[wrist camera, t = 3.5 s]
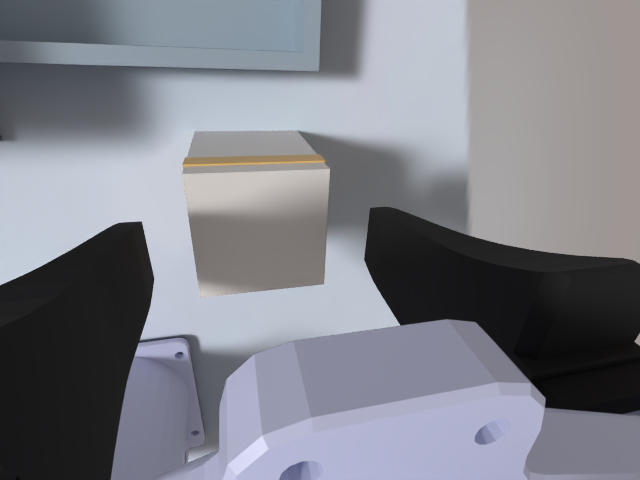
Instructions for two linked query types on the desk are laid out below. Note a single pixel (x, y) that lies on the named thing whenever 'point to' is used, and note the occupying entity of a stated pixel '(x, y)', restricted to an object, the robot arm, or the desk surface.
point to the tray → (163, 33)
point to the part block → (256, 211)
